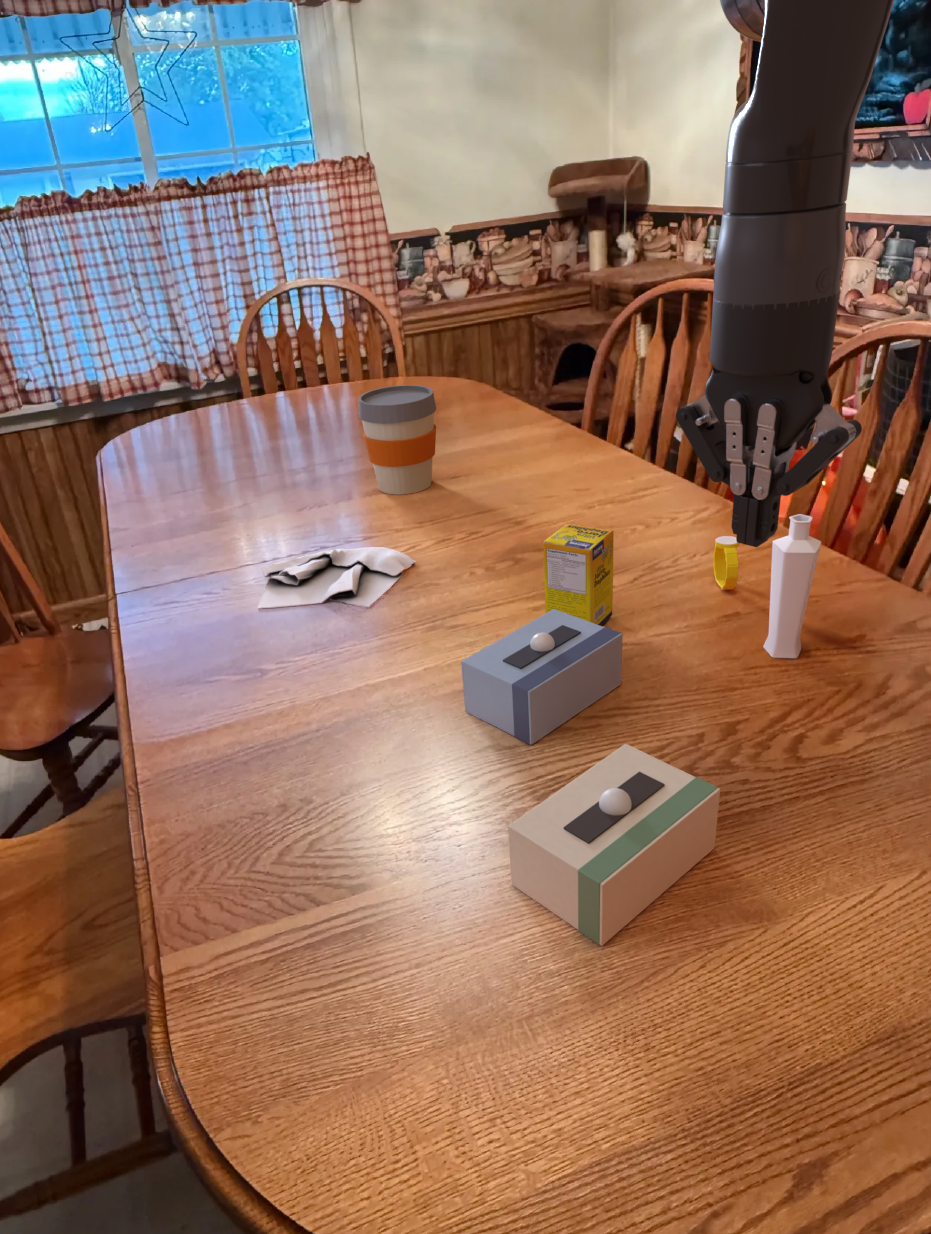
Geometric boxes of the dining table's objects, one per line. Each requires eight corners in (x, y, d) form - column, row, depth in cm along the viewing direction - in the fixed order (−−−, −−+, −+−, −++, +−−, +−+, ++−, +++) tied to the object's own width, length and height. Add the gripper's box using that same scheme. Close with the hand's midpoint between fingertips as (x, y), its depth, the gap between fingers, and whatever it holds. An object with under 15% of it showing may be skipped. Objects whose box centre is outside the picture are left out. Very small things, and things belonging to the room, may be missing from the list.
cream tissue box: (715, 848, 71) (624, 799, 78) (722, 773, 68) (626, 728, 74) (601, 947, 64) (510, 885, 70) (602, 869, 60) (506, 810, 66)
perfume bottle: (751, 651, 96) (766, 520, 88) (773, 636, 98) (790, 506, 91) (791, 666, 93) (810, 531, 85) (812, 649, 95) (834, 517, 88)
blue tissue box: (621, 684, 93) (555, 657, 99) (623, 620, 89) (553, 595, 95) (531, 745, 85) (464, 712, 91) (528, 678, 81) (459, 647, 87)
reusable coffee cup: (416, 502, 143) (407, 408, 136) (353, 493, 149) (341, 402, 142) (455, 476, 152) (449, 386, 144) (394, 469, 158) (384, 382, 150)
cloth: (435, 559, 124) (434, 543, 122) (338, 629, 109) (335, 611, 107) (321, 538, 134) (319, 522, 133) (218, 599, 119) (214, 582, 118)
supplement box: (613, 615, 106) (615, 529, 100) (591, 638, 102) (592, 549, 96) (567, 606, 109) (566, 521, 103) (544, 627, 105) (542, 540, 99)
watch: (742, 595, 107) (747, 549, 104) (718, 597, 107) (722, 551, 104) (728, 574, 112) (732, 529, 109) (706, 575, 112) (709, 531, 109)
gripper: (910, 279, 54) (867, 545, 63) (716, 274, 63) (702, 507, 72) (850, 303, 50) (813, 583, 59) (652, 294, 59) (646, 538, 68)
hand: (752, 541), depth 66 cm, fingers closed
